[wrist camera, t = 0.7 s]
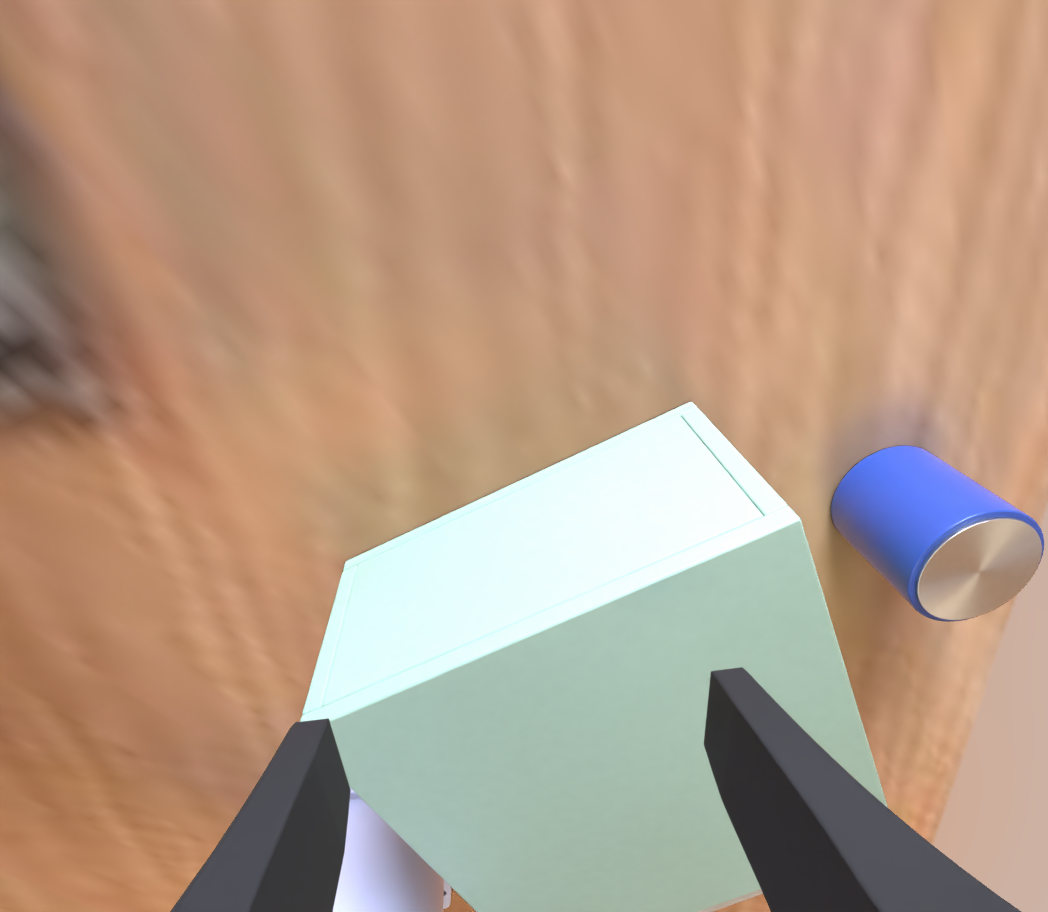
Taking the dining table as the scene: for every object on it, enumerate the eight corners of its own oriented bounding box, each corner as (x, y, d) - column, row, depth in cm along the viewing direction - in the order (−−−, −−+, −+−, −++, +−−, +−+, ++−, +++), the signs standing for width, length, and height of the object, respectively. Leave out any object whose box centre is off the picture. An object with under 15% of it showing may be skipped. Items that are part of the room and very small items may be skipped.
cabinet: (791, 672, 26) (899, 841, 20) (517, 781, 28) (534, 970, 21) (691, 400, 20) (801, 518, 13) (344, 560, 21) (294, 735, 15)
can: (917, 544, 23) (1011, 624, 19) (816, 542, 23) (891, 625, 19) (960, 446, 22) (1074, 514, 18) (851, 442, 21) (943, 511, 17)
